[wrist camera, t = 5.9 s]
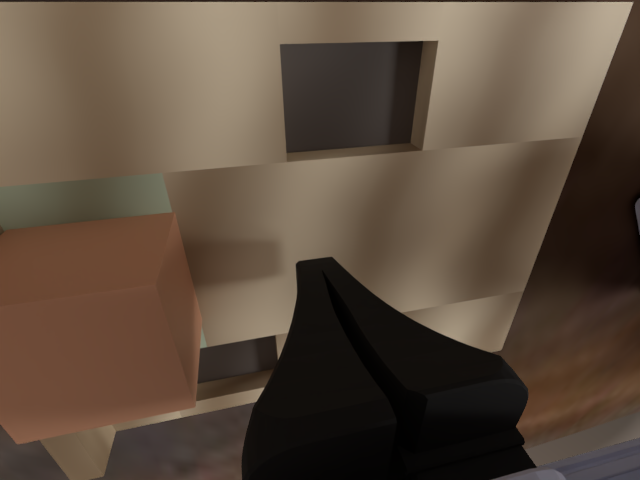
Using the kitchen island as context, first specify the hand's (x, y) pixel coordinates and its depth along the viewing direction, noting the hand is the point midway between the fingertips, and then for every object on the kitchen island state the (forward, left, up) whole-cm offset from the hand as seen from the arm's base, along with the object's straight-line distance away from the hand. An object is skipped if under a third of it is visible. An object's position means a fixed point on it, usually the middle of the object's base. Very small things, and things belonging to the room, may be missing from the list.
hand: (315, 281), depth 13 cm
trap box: (0, 0, -3) cm, 3 cm away
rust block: (+4, +6, -2) cm, 7 cm away
